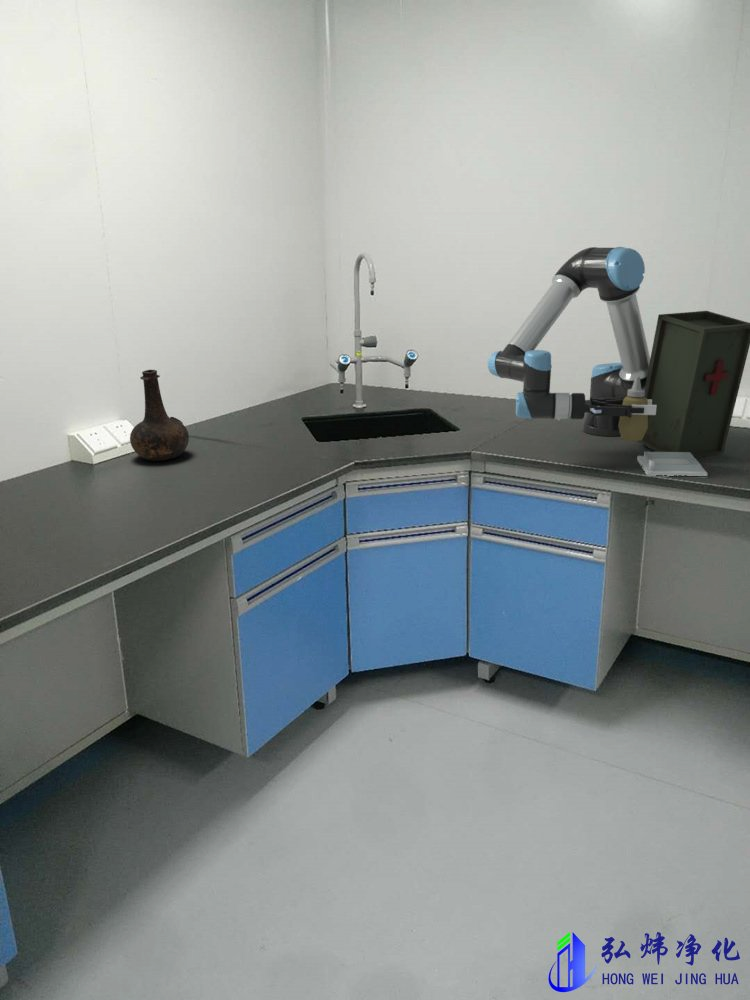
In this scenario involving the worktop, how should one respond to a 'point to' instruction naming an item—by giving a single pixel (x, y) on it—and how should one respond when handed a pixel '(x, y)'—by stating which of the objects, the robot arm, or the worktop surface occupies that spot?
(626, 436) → the squeeze bottle
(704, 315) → the first aid box
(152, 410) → the glass bottle
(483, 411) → the worktop surface
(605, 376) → the robot arm
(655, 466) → the holder plate
